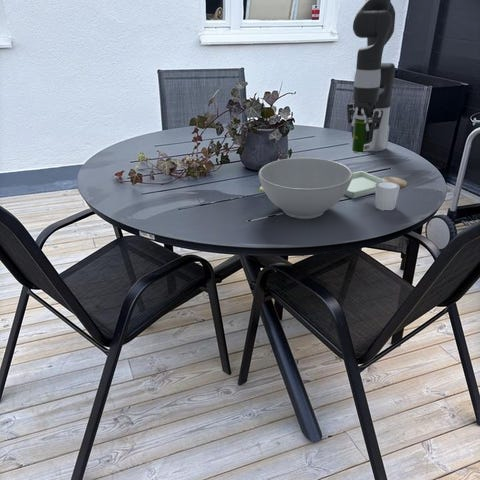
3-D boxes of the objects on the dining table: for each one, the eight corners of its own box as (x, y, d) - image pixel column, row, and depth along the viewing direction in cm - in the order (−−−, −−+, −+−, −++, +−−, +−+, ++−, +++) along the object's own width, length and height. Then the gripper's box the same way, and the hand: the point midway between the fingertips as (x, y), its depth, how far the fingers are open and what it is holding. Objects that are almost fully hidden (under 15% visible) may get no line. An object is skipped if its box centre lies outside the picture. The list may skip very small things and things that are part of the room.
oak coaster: (392, 176, 161) (392, 175, 160) (412, 184, 154) (412, 183, 153) (373, 181, 157) (373, 180, 157) (392, 190, 150) (392, 188, 150)
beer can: (372, 151, 148) (376, 114, 142) (361, 155, 145) (365, 117, 139) (358, 148, 151) (362, 111, 146) (348, 151, 148) (351, 114, 143)
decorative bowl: (248, 199, 147) (247, 163, 141) (325, 188, 153) (327, 153, 147) (277, 236, 124) (277, 194, 118) (366, 222, 130) (370, 181, 124)
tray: (361, 176, 162) (361, 170, 161) (390, 188, 151) (391, 182, 150) (324, 185, 156) (325, 179, 155) (352, 198, 145) (353, 192, 144)
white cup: (384, 213, 135) (387, 191, 131) (368, 205, 140) (370, 183, 137) (401, 208, 137) (405, 186, 134) (385, 200, 143) (388, 179, 139)
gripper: (393, 86, 134) (386, 143, 142) (360, 80, 145) (355, 133, 153) (374, 89, 131) (368, 147, 139) (341, 82, 142) (337, 136, 150)
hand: (361, 139), depth 146 cm, fingers closed on beer can, 5 cm apart
